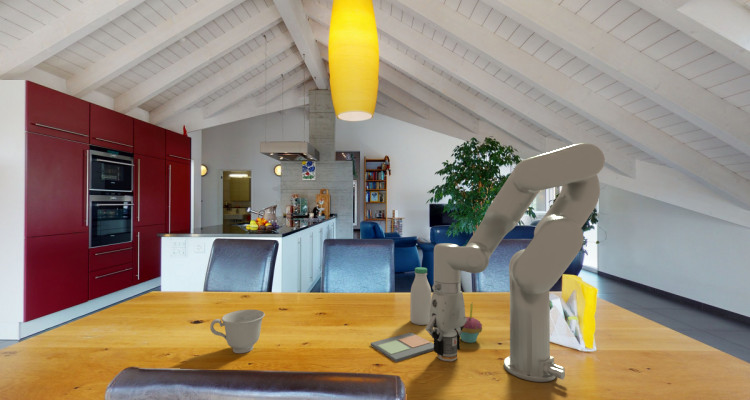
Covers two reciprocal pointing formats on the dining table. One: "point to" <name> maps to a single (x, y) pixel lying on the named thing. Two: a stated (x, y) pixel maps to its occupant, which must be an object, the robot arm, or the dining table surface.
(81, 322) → the dining table surface
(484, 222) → the robot arm
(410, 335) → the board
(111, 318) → the dining table surface
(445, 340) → the pill bottle
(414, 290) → the milk bottle
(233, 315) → the teacup
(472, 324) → the cupcake
